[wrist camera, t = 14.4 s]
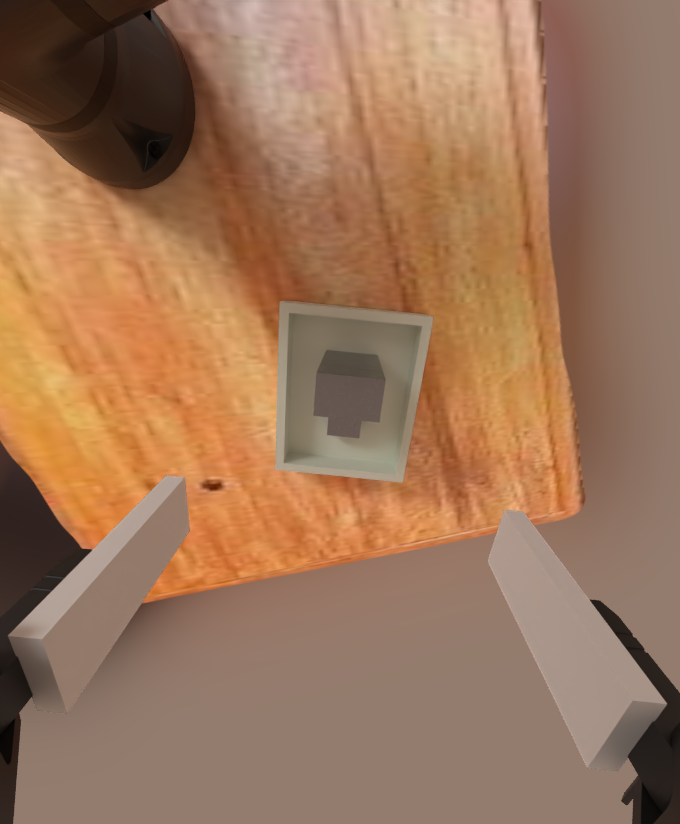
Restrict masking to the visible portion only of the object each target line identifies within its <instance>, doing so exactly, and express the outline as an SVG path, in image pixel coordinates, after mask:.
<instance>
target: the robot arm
mask: <svg viewBox="0 0 680 824" xmlns="http://www.w3.org/2000/svg"><path fill="white" fill-rule="evenodd" d="M166 1H168V0H0V111H1V112H3V113H5V114H8V115H10V116H12V117H14V118H16V119H18V120H20V121H22V122H24V123H26V124H28V125H29V126H30V127H31V128H32V129H33V130H34V131H35V132H36V133H37V134H38V135H39V136H40V137H42V138H43V139H44V140H45V141H46V142H47V143H48V144H49V145H50V146H51V147H53V148H54V149H55V150H56V152H57V153H58V154H59V155H60V156H61V157H63V158H64V159H65V160H66V161H67V162H68V163H70V164H71V165H72V166H74V167H75V168H77V169H78V170H80V171H81V172H83V173H85V174H87V175H88V176H91V177H93V178H95V179H97V180H100V181H102V182H104V183H107V184H109V185H112V186H115V187H119V188H125V189H141V188H147V187H150V186H153V185H155V184H158V183H159V182H161V181H163V180H164V179H166V178H167V177H168V176H170V175H171V174H172V173H173V172H174V171H175V169H176V168H177V167H178V166H179V164H180V163H181V161H182V160H183V158H184V156H185V154H186V152H187V150H188V147H189V144H190V141H191V138H192V133H193V127H194V118H195V103H194V93H193V87H192V82H191V78H190V74H189V71H188V68H187V65H186V62H185V59H184V57H183V55H182V52H181V50H180V48H179V46H178V44H177V43H176V41H175V39H174V38H173V36H172V34H171V33H170V31H169V30H168V29H167V27H166V26H165V24H164V23H163V22H162V20H161V19H160V18H159V16H158V15H157V14H156V12H155V11H154V10H153V8H155V7H157V6H158V5H160V4H162V3H164V2H166ZM189 531H190V528H189V517H188V506H187V495H186V484H185V477H177V476H167V475H166V476H165V477H164V478H163V479H162V480H161V481H160V482H159V483H158V484H157V485H156V486H155V487H154V488H153V489H152V490H151V491H150V492H149V493H148V494H147V495H146V497H145V498H144V499H143V500H142V501H141V502H140V503H139V504H138V505H137V506H136V507H135V508H134V509H133V510H132V511H131V512H130V513H129V514H128V515H127V516H126V517H125V518H124V519H123V520H122V521H121V522H120V523H119V524H118V525H117V526H116V527H115V528H114V529H113V530H112V531H111V532H110V533H109V534H108V535H107V536H106V537H105V538H104V539H103V540H102V541H101V542H100V543H99V544H98V545H97V546H96V547H95V548H94V549H93V550H91V549H80V550H78V551H76V552H74V553H73V554H71V555H69V556H68V557H66V558H64V559H63V560H61V561H60V562H59V563H58V564H57V565H56V566H55V567H54V568H53V569H52V570H51V571H49V572H48V573H47V574H46V577H45V578H42V579H41V580H40V581H39V582H38V583H37V584H36V585H35V586H34V587H33V589H32V590H29V591H28V592H27V593H26V594H25V595H24V596H23V597H22V598H21V599H20V600H19V601H17V602H16V603H15V605H13V607H11V608H10V609H9V610H8V611H7V612H6V613H5V614H4V615H3V616H1V617H0V824H13V817H14V804H15V791H16V778H17V765H18V752H19V739H20V726H21V719H20V715H19V712H20V711H21V710H22V708H23V707H24V706H25V704H26V703H27V702H28V701H29V699H30V698H31V697H32V698H33V701H34V703H35V706H36V709H37V710H38V711H46V712H54V713H65V714H68V712H69V711H70V709H71V708H72V706H73V705H74V703H75V702H76V700H77V699H78V697H79V696H80V694H81V693H82V691H83V690H84V688H85V687H86V685H87V684H88V682H89V681H90V679H91V678H92V676H93V675H94V673H95V672H96V670H97V669H98V667H99V666H100V664H101V663H102V661H103V660H104V658H105V657H106V656H107V654H108V653H109V651H110V649H111V648H112V647H113V645H114V643H115V642H116V641H117V639H118V638H119V636H120V634H121V633H122V632H123V630H124V628H125V627H126V626H127V624H128V623H129V621H130V620H131V618H132V617H133V615H134V614H135V612H136V611H137V609H138V608H139V606H140V605H141V603H142V602H143V600H144V599H145V597H146V596H147V594H148V593H149V591H150V590H151V588H152V587H153V585H154V584H155V582H156V581H157V579H158V578H159V576H160V575H161V573H162V572H163V570H164V569H165V567H166V566H167V564H168V563H169V561H170V560H171V558H172V557H173V555H174V554H175V552H176V551H177V549H178V548H179V546H180V545H181V543H182V542H183V540H184V539H185V537H186V536H187V534H188V533H189ZM488 564H489V566H490V567H491V570H492V572H493V574H494V576H495V578H496V580H497V582H498V584H499V586H500V588H501V590H502V593H503V595H504V597H505V599H506V600H507V603H508V605H509V607H510V609H511V611H512V613H513V615H514V617H515V619H516V621H517V624H518V626H519V628H520V630H521V632H522V634H523V636H524V638H525V640H526V642H527V644H528V646H529V648H530V650H531V652H532V655H533V656H534V659H535V660H536V663H537V665H538V667H539V669H540V671H541V673H542V675H543V677H544V679H545V681H546V683H547V685H548V688H549V690H550V692H551V694H552V696H553V698H554V700H555V702H556V704H557V706H558V708H559V710H560V712H561V714H562V717H563V718H564V721H565V723H566V725H567V727H568V729H569V731H570V733H571V735H572V737H573V739H574V741H575V743H576V746H577V748H578V749H579V752H580V754H581V756H582V758H583V760H584V762H585V764H586V766H587V768H591V769H601V770H610V771H618V770H619V769H620V768H621V767H622V765H623V764H624V763H625V761H626V760H627V758H629V760H630V762H631V763H632V765H633V767H634V768H635V770H636V772H637V773H638V776H637V777H636V779H635V780H634V781H633V783H632V784H631V785H630V786H629V788H628V789H627V790H626V792H625V793H624V795H623V798H622V800H621V801H622V802H623V803H624V804H625V805H628V804H629V803H630V801H631V800H632V799H633V819H632V824H680V693H679V692H678V690H677V689H676V688H675V687H674V685H673V684H672V683H671V682H670V680H669V679H668V678H667V677H666V675H665V674H664V673H663V672H662V670H661V669H660V668H659V667H658V665H657V664H656V663H655V662H654V660H653V659H652V658H651V657H650V655H649V654H648V653H646V652H645V651H644V648H643V646H642V645H641V644H640V643H639V642H638V640H637V639H636V638H634V637H633V636H632V633H631V631H630V630H629V629H628V628H627V627H626V625H625V624H624V623H623V621H622V620H621V619H620V618H619V616H617V615H616V614H615V613H614V612H613V611H612V610H610V609H609V608H608V607H607V606H606V605H604V604H603V603H602V602H601V601H598V600H589V599H588V598H587V596H586V595H585V594H584V592H583V591H582V589H581V588H580V587H579V586H578V584H577V583H576V581H575V580H574V579H573V577H572V576H571V575H570V573H569V572H568V571H567V569H566V568H565V567H564V565H563V564H562V563H561V561H560V560H559V559H558V557H557V556H556V555H555V553H554V552H553V551H552V549H551V548H550V547H549V545H548V544H547V543H546V541H545V540H544V539H543V537H542V536H541V535H540V533H539V532H538V531H537V529H536V528H535V527H534V525H533V524H532V523H531V521H530V520H529V519H528V517H527V516H526V515H525V513H524V512H522V511H512V510H504V513H503V516H502V519H501V522H500V525H499V528H498V531H497V534H496V537H495V540H494V543H493V546H492V549H491V552H490V555H489V558H488Z"/></svg>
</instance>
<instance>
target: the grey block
mask: <svg viewBox="0 0 680 824" xmlns="http://www.w3.org/2000/svg"><path fill="white" fill-rule="evenodd" d="M385 382H386V379H385V376H384V373H383V370H382V367H381V364H380V361H379V358H378V355H372V354H362V353H353V352H343V351H333V350H326V352H325V354H324V356H323V359H322V361H321V363H320V366H319V368H318V370H317V372H316V385H315V399H314V413H313V416H321V417H328V427H327V435H331V436H341V437H350V438H359V437H360V429H361V421H369V422H380V415H381V408H382V402H383V395H384V388H385Z"/></svg>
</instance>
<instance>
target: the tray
mask: <svg viewBox="0 0 680 824" xmlns="http://www.w3.org/2000/svg"><path fill="white" fill-rule="evenodd" d="M433 319H434V317H432V316H430V315H427V314H420V313H410V312H400V311H390V310H380V309H370V308H360V307H350V306H340V305H330V304H320V303H310V302H300V301H289V300H286V301H281V302H280V304H279V344H278V383H277V423H276V462H275V470H284V471H294V472H304V473H314V474H323V475H333V476H343V477H353V478H363V479H373V480H382V481H392V482H402V483H403V479H404V474H405V468H406V463H407V458H408V452H409V447H410V442H411V436H412V431H413V426H414V420H415V415H416V410H417V404H418V399H419V394H420V388H421V383H422V378H423V372H424V367H425V362H426V356H427V351H428V346H429V340H430V335H431V330H432V324H433ZM326 350H333V351H343V352H353V353H362V354H372V355H378V358H379V361H380V364H381V367H382V370H383V373H384V376H385V379H386V382H385V388H384V395H383V402H382V408H381V415H380V422H369V421H361V429H360V437H359V438H350V437H341V436H331V435H327V427H328V417H321V416H313V413H314V399H315V385H316V372H317V370H318V368H319V366H320V363H321V361H322V359H323V356H324V354H325V352H326Z"/></svg>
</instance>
